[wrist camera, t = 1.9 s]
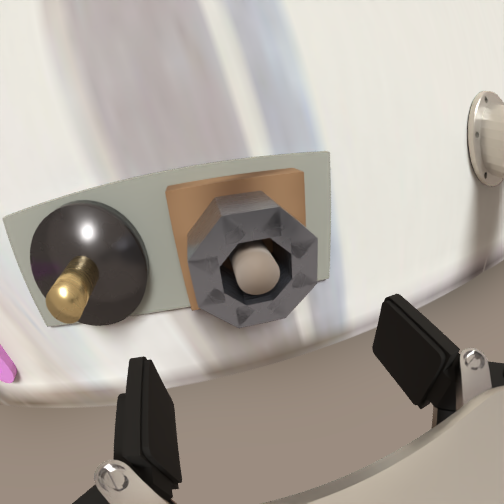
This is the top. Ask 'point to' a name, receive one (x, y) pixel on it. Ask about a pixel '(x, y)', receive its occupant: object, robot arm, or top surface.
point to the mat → (159, 224)
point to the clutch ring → (243, 230)
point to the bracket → (6, 367)
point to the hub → (89, 263)
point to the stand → (244, 254)
